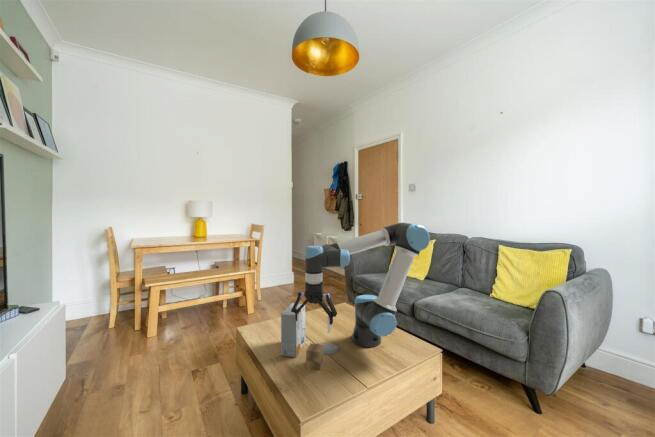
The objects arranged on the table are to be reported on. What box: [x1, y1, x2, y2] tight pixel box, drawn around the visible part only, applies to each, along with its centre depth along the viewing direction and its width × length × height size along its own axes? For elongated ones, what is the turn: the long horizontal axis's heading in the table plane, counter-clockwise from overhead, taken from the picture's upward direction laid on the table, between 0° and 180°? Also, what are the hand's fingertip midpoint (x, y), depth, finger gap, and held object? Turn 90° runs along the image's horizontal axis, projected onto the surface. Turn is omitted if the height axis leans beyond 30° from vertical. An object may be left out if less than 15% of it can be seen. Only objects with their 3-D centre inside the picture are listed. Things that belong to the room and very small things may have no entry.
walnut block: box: [305, 343, 324, 371], centre depth 118 cm, size 6×6×8 cm
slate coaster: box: [322, 342, 339, 355], centre depth 131 cm, size 9×9×1 cm
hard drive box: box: [280, 302, 306, 358], centre depth 131 cm, size 16×8×20 cm, turn 168°
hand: (313, 329), depth 117 cm, fingers open, 13 cm apart
